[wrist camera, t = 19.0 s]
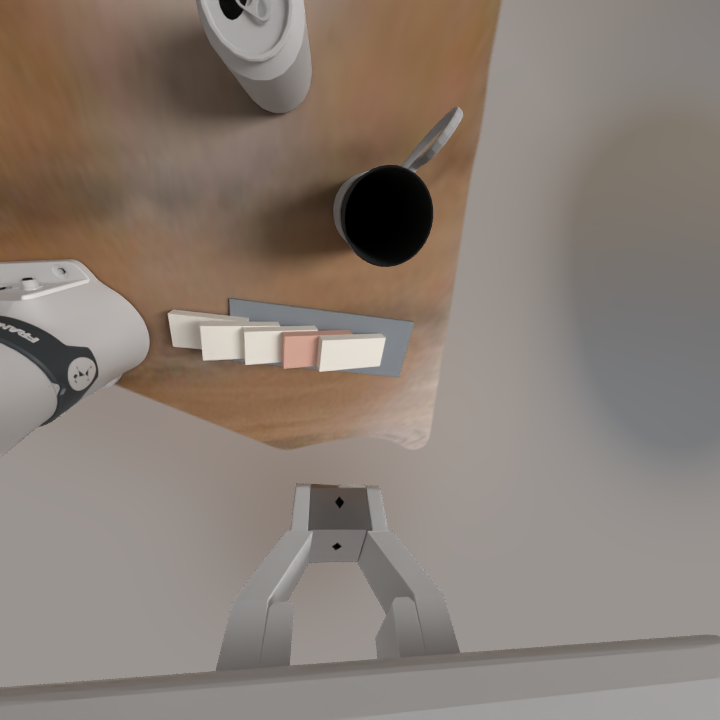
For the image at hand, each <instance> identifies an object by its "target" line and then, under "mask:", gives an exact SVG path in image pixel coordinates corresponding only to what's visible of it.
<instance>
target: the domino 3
mask: <svg viewBox="0 0 720 720" xmlns="http://www.w3.org/2000/svg"><path fill="white" fill-rule="evenodd" d="M289 331H318V329H317V328H316V326H268V327H243V337H244V360H245V365H251V364H265V363H278V362H282V332H289Z"/></svg>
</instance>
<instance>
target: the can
mask: <svg viewBox="0 0 720 720" xmlns="http://www.w3.org/2000/svg"><path fill="white" fill-rule="evenodd" d="M196 3H197V8H198V13H199V17H200V22H201V24H202V26H203V28H204V31H205V33H206V35H207V38H208V40H209V42H210V44H211V45H212V47H213V48H214V50H215V51H216V52H217V54H218V55H219V56H220V58H221V59H222V61H223V62H224V63H225V65H226V66H227V67H228V68H229V70H230V71H231V72H232V74H233V75H234V76H235V78H236V79H237V80H238V82H239V83H240V84H241V86H242V87H243V88H244V90H245V91H246V92H247V94H248V95H249V96H250V98H251V99H252V100H253V101H254V102H255V103H257V104H258V105H259V106H260V107H262V108H263V109H265V110H268V111H270V112H273V113H287V112H289V111H291V110H294V109H296V108H297V107H298V106H299V105H300V104H301V103H302V101H303V100H304V99H305V97H306V95H307V92H308V90H309V88H310V82H311V76H312V67H311V55H310V48H309V40H308V32H307V25H306V17H305V9H304V1H303V0H196Z"/></svg>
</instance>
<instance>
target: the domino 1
mask: <svg viewBox="0 0 720 720" xmlns="http://www.w3.org/2000/svg"><path fill="white" fill-rule="evenodd" d="M168 319H169V325H170V331H171V337H172V343H173V347H182V348H193V349H202V342H201V331H200V321H230V322H249V320H248V318H245V317H236V316H227V315H218V314H209V313H200V312H191V311H182V310H172V311H170V312H169V313H168Z"/></svg>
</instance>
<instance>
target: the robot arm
mask: <svg viewBox="0 0 720 720" xmlns="http://www.w3.org/2000/svg"><path fill="white" fill-rule="evenodd" d="M62 268H63V269H64V270H65V272H66V273H65V272H64V271H63V270H62ZM149 344H150V341H149V334H148V330H147V327H146V325H145V323H144V321H143V319H142V317H141V316H140V314H139V313H138V312H137V310H136V309H135V308H134V307H133V306H132V305H131V304H130V303H129V302H128V301H127V300H126V299H125V298H123V297H122V296H121V295H119V294H118V293H117V292H115V291H113V290H112V289H110V288H109V287H107V286H105V285H104V284H103V283H101V282H100V281H99V280H98V279H97V278H96V277H95V276H94V275H93V274H92V273H91V272H90V271H89V270H88V268H87V267H85V266H84V265H83V264H82V263H81V262H79V261H77V260H74V259H61V260H37V261H13V262H0V458H1V457H2V456H3V455H4V454H6V453H7V452H8V451H9V450H10V449H12V448H13V447H14V446H15V445H16V444H18V443H19V442H20V441H21V440H23V439H24V438H25V437H26V436H27V435H29V434H30V433H31V432H32V431H34V430H35V429H36V428H37V427H40V426H43V425H46V424H48V423H50V422H52V421H53V420H55V419H56V418H57V417H60V416H62V415H63V414H64V413H66V412H67V410H68V409H69V408H70V407H72V406H74V405H75V404H77V403H79V402H80V401H82V400H83V399H85V398H87V397H88V396H90V395H91V394H93V393H94V392H96V391H97V390H99V389H100V388H102V387H110V386H112V385H114V384H115V383H117V382H118V380H119V379H120V378H121V376H122V374H123V373H125V372H127V371H128V370H130V369H132V368H134V367H136V366H138V365H139V364H140V363H141V362H142V361H143V360H144V359H145V357H146V355H147V353H148V350H149ZM318 562H358V565H359V567H360V568H361V570H362V572H363V573H364V575H365V577H366V579H367V581H368V583H369V584H370V586H371V588H372V590H373V592H374V593H375V595H376V597H377V599H378V601H379V602H380V604H381V606H382V608H383V609H384V611H385V613H386V617H385V619H384V621H383V624H382V626H381V628H380V630H379V632H378V634H377V636H376V638H375V639H376V649H377V659H372V660H360V661H346V662H332V663H320V664H307V665H293V666H290V652H291V639H292V627H293V614H294V606H293V605H292V604H291V603H290V602H289V601H288V600H289V598H290V596H291V594H292V592H293V591H294V589H295V587H296V585H297V584H298V582H299V580H300V578H301V576H302V575H303V573H304V571H305V569H306V567H307V566H308V563H318ZM0 720H720V636H717V635H693V636H680V637H668V638H653V639H640V640H626V641H613V642H600V643H586V644H573V645H561V646H547V647H534V648H520V649H506V650H493V651H479V652H466V653H460V651H459V647H458V644H457V640H456V637H455V633H454V630H453V626H452V623H451V620H450V616H449V613H448V609H447V606H446V602H445V599H444V596H443V594H442V592H441V591H440V590H439V589H438V588H437V586H436V585H435V584H434V582H433V581H432V580H431V579H430V577H429V576H428V575H427V574H426V572H425V571H424V570H423V569H422V567H421V566H420V565H419V564H418V562H417V561H416V560H415V559H414V557H413V556H412V555H411V554H410V552H409V551H408V550H407V549H406V547H405V546H404V545H403V544H402V542H401V541H400V540H399V539H398V537H397V536H396V535H395V534H394V533H393V531H388V527H387V522H386V517H385V511H384V506H383V500H382V496H381V490H380V487H379V486H365V485H321V484H311V485H310V484H298V483H297V484H296V487H295V494H294V504H293V512H292V521H291V529H290V531H285V532H284V534H283V535H282V536H281V538H280V539H279V541H278V542H277V543H276V544H275V546H274V547H273V548H272V550H271V551H270V552H269V554H268V555H267V556H266V558H265V559H264V560H263V562H262V563H261V564H260V566H259V567H258V568H257V570H256V571H255V572H254V574H253V575H252V577H251V578H250V579H249V581H248V582H247V583H246V585H245V586H244V587H243V589H242V590H241V591H240V592H239V594H238V595H237V597H236V598H235V599H234V601H233V602H232V607H231V610H230V614H229V618H228V623H227V627H226V631H225V635H224V639H223V643H222V647H221V651H220V655H219V660H218V663H217V668H216V671H212V672H200V673H185V674H173V675H160V676H145V677H132V678H119V679H106V680H92V681H79V682H65V683H52V684H39V685H25V686H12V687H0Z"/></svg>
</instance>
